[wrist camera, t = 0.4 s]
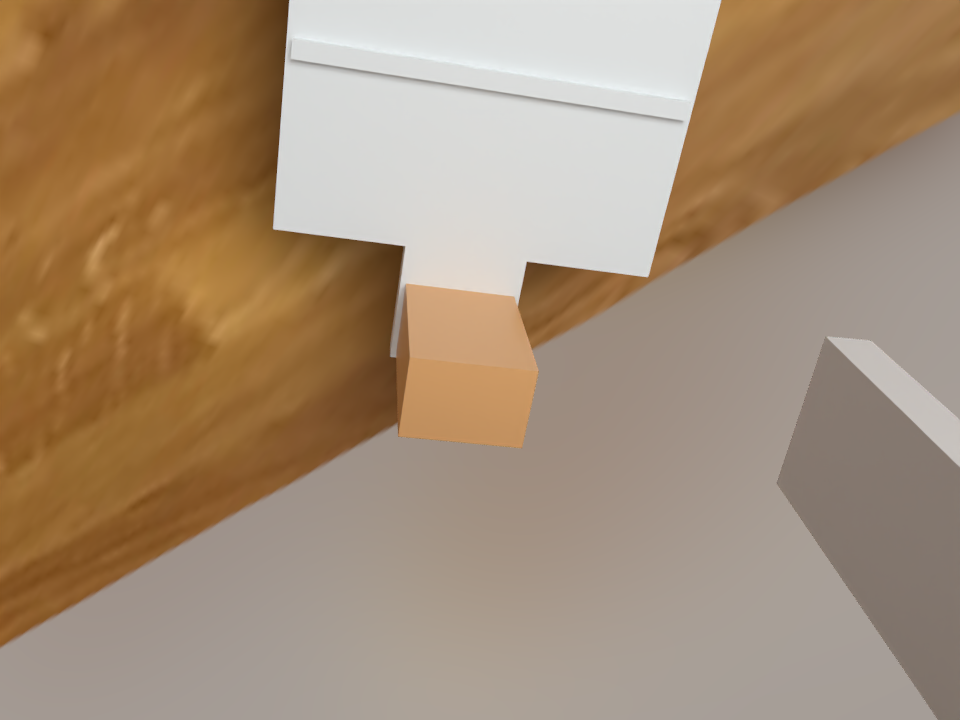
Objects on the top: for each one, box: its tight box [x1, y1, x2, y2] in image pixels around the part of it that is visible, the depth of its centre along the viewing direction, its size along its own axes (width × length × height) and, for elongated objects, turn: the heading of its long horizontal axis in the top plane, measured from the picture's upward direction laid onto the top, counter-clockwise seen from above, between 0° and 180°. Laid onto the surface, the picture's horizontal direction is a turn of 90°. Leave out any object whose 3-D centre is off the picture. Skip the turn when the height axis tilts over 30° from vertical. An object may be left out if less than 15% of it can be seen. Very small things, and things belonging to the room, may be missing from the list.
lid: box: [273, 0, 721, 448], centre depth 27 cm, size 14×23×7 cm, turn 170°
